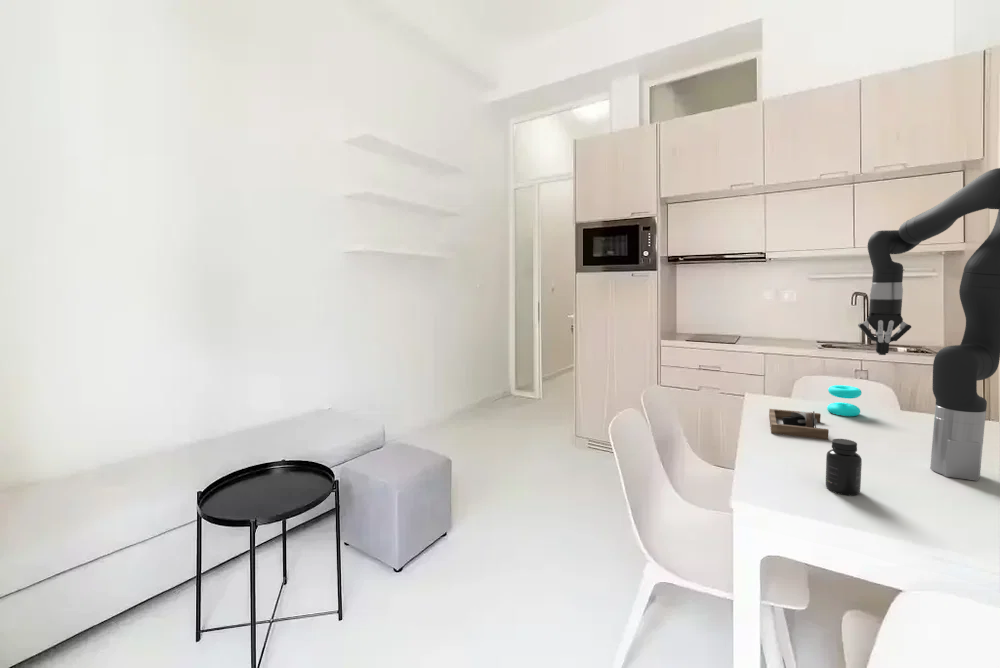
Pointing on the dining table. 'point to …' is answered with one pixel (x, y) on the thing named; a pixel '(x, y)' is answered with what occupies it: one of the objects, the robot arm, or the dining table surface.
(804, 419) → the caster wheel
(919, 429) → the dining table surface
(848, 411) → the donuts
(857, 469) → the supplement bottle
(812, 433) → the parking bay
